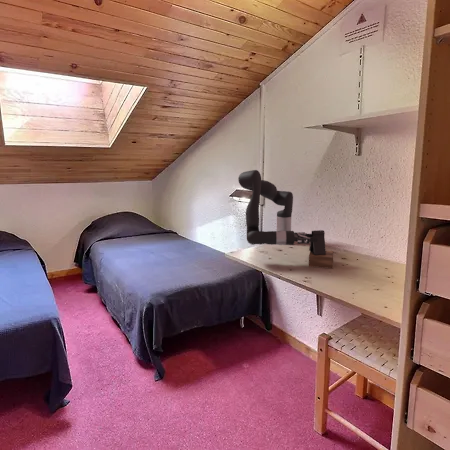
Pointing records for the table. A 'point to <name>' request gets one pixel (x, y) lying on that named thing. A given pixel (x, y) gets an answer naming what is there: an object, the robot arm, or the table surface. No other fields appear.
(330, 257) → the walnut block
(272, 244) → the robot arm
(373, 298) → the table surface
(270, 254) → the table surface
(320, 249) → the phone stand
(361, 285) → the table surface
